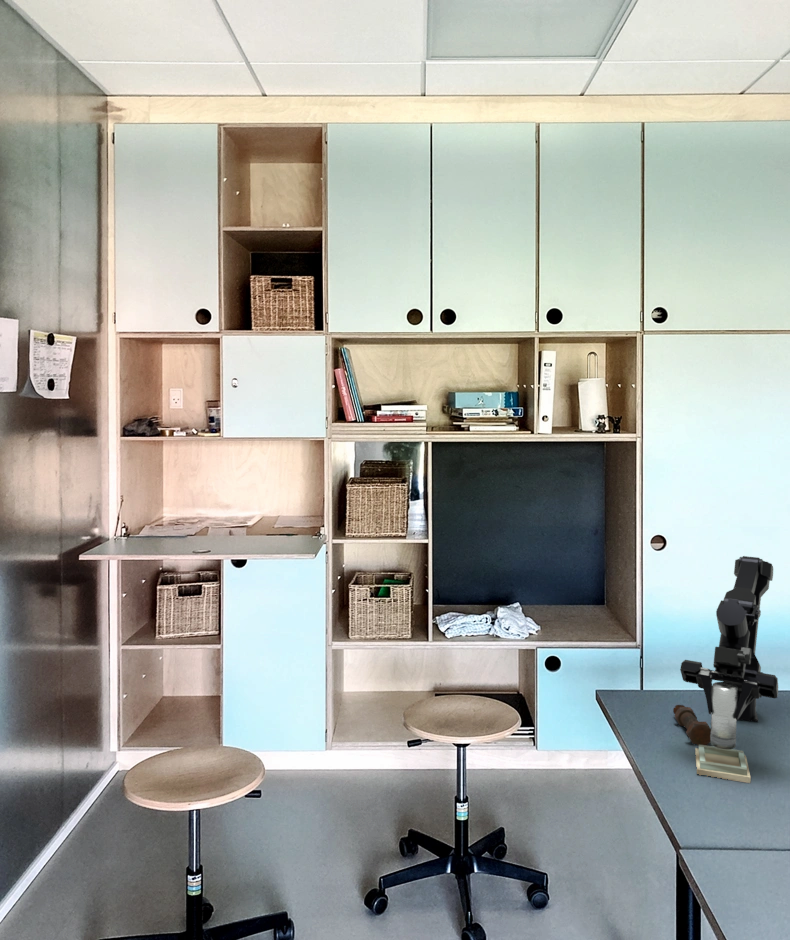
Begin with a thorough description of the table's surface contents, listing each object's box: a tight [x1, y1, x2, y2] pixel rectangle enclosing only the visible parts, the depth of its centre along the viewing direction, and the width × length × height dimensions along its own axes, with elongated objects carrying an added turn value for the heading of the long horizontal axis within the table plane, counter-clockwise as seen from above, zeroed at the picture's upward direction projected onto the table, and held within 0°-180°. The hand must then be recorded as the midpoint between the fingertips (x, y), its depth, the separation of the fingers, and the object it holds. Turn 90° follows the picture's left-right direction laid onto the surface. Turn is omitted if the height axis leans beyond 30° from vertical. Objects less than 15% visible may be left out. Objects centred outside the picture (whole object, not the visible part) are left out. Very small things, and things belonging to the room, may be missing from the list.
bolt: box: [672, 704, 711, 746], centre depth 175 cm, size 6×5×15 cm
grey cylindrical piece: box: [709, 681, 738, 750], centre depth 157 cm, size 5×5×12 cm
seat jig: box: [694, 745, 752, 784], centre depth 157 cm, size 10×10×2 cm
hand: (723, 716), depth 155 cm, fingers closed on grey cylindrical piece, 5 cm apart
